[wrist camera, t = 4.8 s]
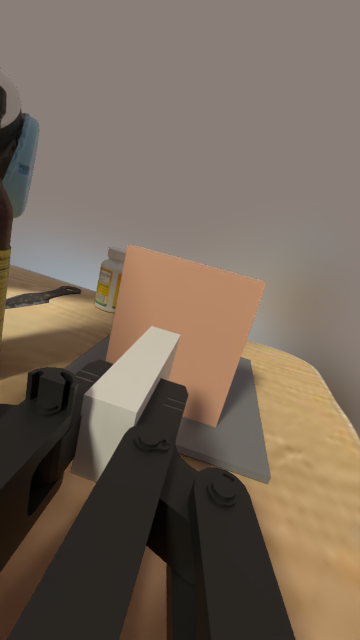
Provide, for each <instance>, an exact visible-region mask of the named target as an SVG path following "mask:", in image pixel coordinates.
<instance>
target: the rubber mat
mask: <svg viewBox="0 0 360 640" xmlns="http://www.w3.org/2000/svg"><path fill="white" fill-rule="evenodd" d="M110 335H111V334H110ZM110 335H109V336H108V337H106V338H105V339H104V340H102V341H101V342H100V343H98V344H97V345H96V346H94V347H93V348H92V349H90V350H89V351H88V352H86V353H85V354H84V355H82V356H81V357H79V358H78V359H77V360H75V361H74V362H73V363H71V364H70V365H69V366H67V367H66V368H65V369H66V370H68V371H70V372H72V373H73V374H74V375H75V374H76V373H77V372H79V371H81V369H82V368H83V367H85V366H86V365H87V364H88V363H91V362H94V361H97V360H103V361H106V356H107V351H108V346H109V340H110ZM176 449H177V451H178V453H180V454H183V455H186V456H189V457H192V458H194V459H197V460H200V461H203V462H206V463H209V464H212V465H215V466H217V467H220V468H223V469H226V470H229V471H232V472H235V473H237V474H240V475H243V476H246V477H249V478H252V479H255V480H258V481H260V482H263V483H266V484H268V482H269V480H270V478H271V476H270V471H269V465H268V459H267V453H266V448H265V442H264V436H263V430H262V424H261V419H260V413H259V407H258V401H257V396H256V390H255V384H254V378H253V373H252V367H251V361H250V360H248V359H245V358H242V357H240V360H239V363H238V366H237V369H236V371H235V374H234V377H233V380H232V383H231V386H230V388H229V391H228V394H227V397H226V400H225V403H224V405H223V408H222V411H221V414H220V417H219V420H218V423H217V425H216V427H213V426H210V425H207V424H204V423H201V422H198V421H195V420H192V419H189V418H186V417H183V416H182V420H181V423H180V427H179V430H178V434H177V437H176Z"/></svg>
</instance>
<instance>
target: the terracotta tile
mask: <svg viewBox="0 0 360 640" xmlns="http://www.w3.org/2000/svg"><path fill="white" fill-rule="evenodd" d="M265 286H266V282H265V281H263V280H259V279H256V278H252V277H248V276H245V275H241V274H237V273H234V272H230V271H226V270H223V269H219V268H216V267H212V266H209V265H205V264H201V263H198V262H194V261H190V260H187V259H183V258H180V257H176V256H172V255H169V254H165V253H162V252H158V251H154V250H151V249H147V248H143V247H140V246H136V245H128V246H127V251H126V256H125V261H124V267H123V272H122V277H121V282H120V288H119V293H118V298H117V304H116V309H115V314H114V319H113V325H112V330H111V335H110V340H109V346H108V351H107V356H106V362H110V363H113V364H115V363H116V362H117V361H118V360H119V359H120V358H121V357H122V356H123V355H124V353H125V352H126V351H127V350H128V349H129V348H130V347H131V346H132V345H133V344H134V343H135V342H136V341H137V340H138V339H139V338H140V337H141V336H142V335H143V334H144V333H145V332H146V331H147V330H148V329H149V328H150V327H151V326H153V327H157V328H160V329H163V330H166V331H170V332H173V333H176V334H180V335H181V336H180V339H179V343H178V347H177V350H176V354H175V358H174V361H173V365H172V369H171V372H170V376H169V380H168V381H171V382H174V383H177V384H180V385H183V386H186V389H187V392H188V399H187V402H186V406H185V409H184V413H183V417H186V418H189V419H192V420H195V421H198V422H201V423H204V424H207V425H210V426H213V427H216V425H217V423H218V420H219V417H220V414H221V411H222V408H223V405H224V403H225V400H226V397H227V394H228V391H229V388H230V386H231V383H232V380H233V377H234V374H235V371H236V369H237V366H238V363H239V360H240V357H241V354H242V351H243V349H244V346H245V343H246V340H247V337H248V334H249V331H250V329H251V326H252V323H253V320H254V317H255V315H256V312H257V309H258V306H259V303H260V300H261V297H262V295H263V292H264V289H265Z"/></svg>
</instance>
